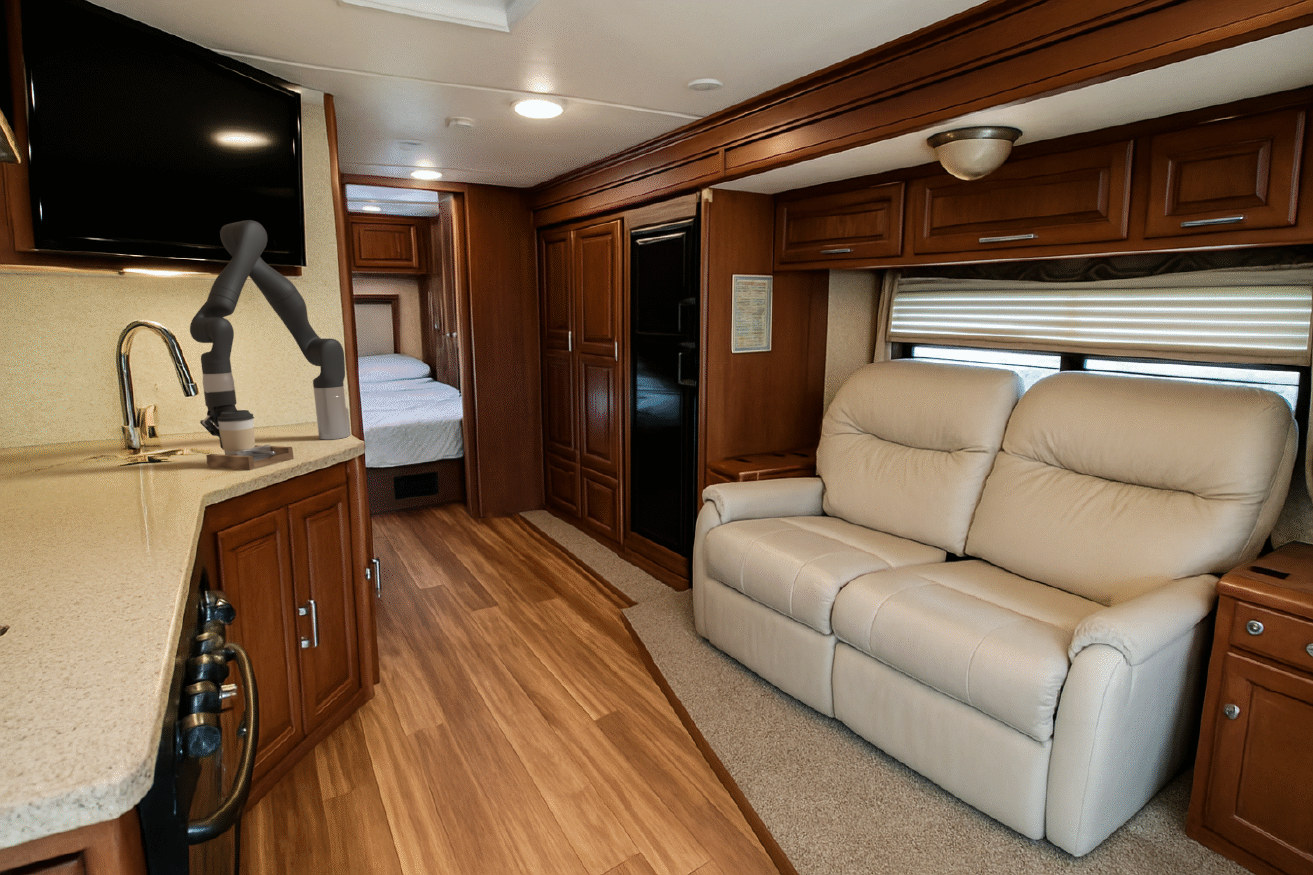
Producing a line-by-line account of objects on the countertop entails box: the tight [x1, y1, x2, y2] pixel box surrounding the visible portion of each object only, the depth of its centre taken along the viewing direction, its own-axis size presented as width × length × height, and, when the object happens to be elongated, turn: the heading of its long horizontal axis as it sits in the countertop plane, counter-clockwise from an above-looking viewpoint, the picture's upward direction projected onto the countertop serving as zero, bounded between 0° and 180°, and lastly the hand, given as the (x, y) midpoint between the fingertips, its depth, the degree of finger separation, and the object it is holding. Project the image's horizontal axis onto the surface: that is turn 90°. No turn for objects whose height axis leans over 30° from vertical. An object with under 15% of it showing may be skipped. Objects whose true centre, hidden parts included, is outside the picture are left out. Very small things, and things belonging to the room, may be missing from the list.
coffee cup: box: [217, 409, 256, 455], centre depth 200 cm, size 9×9×15 cm
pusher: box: [234, 444, 276, 461], centre depth 199 cm, size 8×11×4 cm
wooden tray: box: [205, 444, 294, 471], centre depth 201 cm, size 15×15×4 cm
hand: (227, 449), depth 203 cm, fingers closed
